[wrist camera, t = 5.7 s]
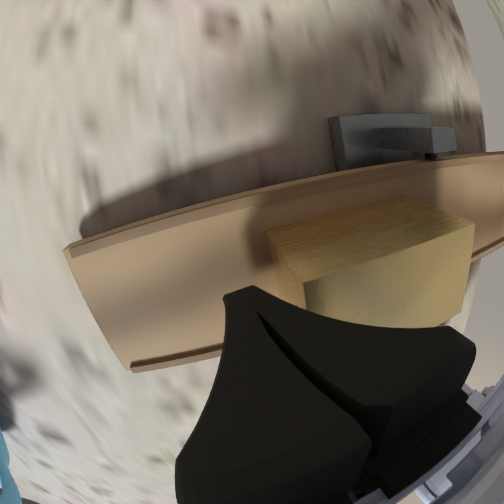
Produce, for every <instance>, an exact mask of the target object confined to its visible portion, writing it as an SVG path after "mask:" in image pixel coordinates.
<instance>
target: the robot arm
mask: <svg viewBox="0 0 504 504" xmlns="http://www.w3.org/2000/svg"><path fill="white" fill-rule="evenodd" d="M222 299H223V302H224V305H225V333H224V341H223V348H222V354H221V359H220V363H219V367H218V371H217V374H216V377H215V380H214V384H213V387H212V390H211V392H210V395H209V398H208V400H207V402H206V405H205V407H204V409H203V411H202V413H201V416H200V418H199V420H198V422H197V424H196V426H195V428H194V430H193V432H192V433H191V435H190V437H189V439H188V440H187V442H186V444H185V445H184V447H183V449H182V450H181V452H180V454H179V455H178V457H177V458H176V463H175V491H176V499H177V503H178V504H396V503H398V502H399V501H401V500H402V499H403V498H405V497H406V496H408V495H409V494H411V493H412V492H413V491H415V493H416V494H417V495H418V497H419V498H420V499H421V500H422V501H423V502H424V503H425V504H504V375H503V376H502V378H501V379H500V380H499V381H498V383H497V384H496V385H495V386H491V387H485V388H484V389H483V390H482V392H481V393H482V394H483V395H482V394H481V393H479V392H478V391H477V390H476V389H475V390H472V389H471V388H470V387H469V386H468V385H466V384H465V380H466V379H467V376H468V374H469V372H470V370H471V368H472V365H473V363H474V360H475V356H476V346H475V344H474V343H473V342H472V341H470V340H469V339H468V338H466V337H465V336H463V335H462V334H461V333H459V332H458V331H456V330H455V329H453V328H452V327H450V326H441V327H426V328H391V327H379V326H371V325H364V324H357V323H352V322H346V321H342V320H338V319H334V318H330V317H326V316H323V315H320V314H317V313H314V312H311V311H308V310H305V309H303V308H300V307H298V306H295V305H293V304H290V303H288V302H286V301H284V300H282V299H280V298H278V297H276V296H274V295H272V294H270V293H268V292H266V291H264V290H262V289H260V288H258V287H256V286H254V285H251V286H248V287H245V288H242V289H239V290H236V291H233V292H231V293H228V294H225V295H224V296H223V298H222Z"/></svg>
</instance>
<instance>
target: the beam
mask: <svg viewBox="0 0 504 504" xmlns="http://www.w3.org/2000/svg"><path fill="white" fill-rule="evenodd" d="M424 155H425V158H424V159H416V160H409V161H401V162H394V163H388V164H381V165H375V166H368V167H362V168H357V169H351V170H345V171H340V172H334V173H329V174H324V175H318V176H313V177H308V178H303V179H299V180H294V181H289V182H285V183H280V184H275V185H271V186H267V187H262V188H258V189H254V190H249V191H245V192H241V193H237V194H233V195H229V196H225V197H221V198H217V199H213V200H210V201H206V202H202V203H198V204H195V205H191V206H187V207H184V208H180V209H177V210H173V211H170V212H166V213H163V214H159V215H156V216H153V217H149V218H146V219H143V220H140V221H136V222H133V223H130V224H127V225H124V226H121V227H118V228H114V229H111V230H108V231H105V232H102V233H99V234H97V235H94V236H91V237H88V238H85V239H82V240H79V241H76V242H74V243H71V244H69V245H68V246H67V247H66V248H65V249H63V253H64V255H65V258H66V260H67V262H68V265H69V267H70V269H71V272H72V274H73V276H74V278H75V281H76V283H77V285H78V287H79V289H80V291H81V293H82V295H83V297H84V299H85V301H86V303H87V305H88V307H89V309H90V311H91V313H92V315H93V317H94V318H95V320H96V322H97V324H98V326H99V328H100V329H101V331H102V333H103V335H104V336H105V338H106V340H107V341H108V343H109V345H110V346H111V348H112V350H113V351H114V353H115V354H116V356H117V358H118V359H119V361H120V362H121V364H122V365H123V367H124V368H125V370H126V371H127V370H131V371H132V372H133V373H139V372H145V371H151V370H156V369H162V368H167V367H173V366H178V365H183V364H188V363H192V362H197V361H202V360H206V359H210V358H215V357H219V356H221V354H222V348H223V341H224V333H225V305H224V302H223V299H222V298H223V296H224V295H225V294H228V293H231V292H233V291H236V290H239V289H242V288H245V287H248V286H251V285H254V286H256V287H258V288H260V289H262V290H264V291H266V292H268V293H270V294H272V295H274V296H276V297H278V293H277V288H276V283H275V278H274V273H273V268H272V263H271V258H270V253H269V248H268V243H267V239H266V234H265V230H267V229H271V228H275V227H279V226H283V225H287V224H291V223H295V222H298V221H302V220H306V219H310V218H314V217H318V216H322V215H326V214H330V213H334V212H339V211H343V210H347V209H351V208H355V207H359V206H363V205H367V204H372V203H376V202H380V201H384V200H388V199H393V198H397V197H401V196H407V197H410V198H412V199H415V200H418V201H421V202H424V203H426V204H429V205H432V206H434V207H437V208H439V209H442V210H445V211H447V212H450V213H452V214H455V215H457V216H459V217H462V218H464V219H466V220H469V221H471V222H473V223H475V230H474V240H473V248H472V256H471V263H473V262H475V261H477V260H479V259H481V258H482V257H484V256H486V255H488V254H490V253H491V252H493V251H495V250H496V249H498V248H500V247H502V246H503V245H504V151H501V152H485V153H472V154H461V155H450V156H441V157H437V154H436V153H424ZM471 263H470V264H471Z"/></svg>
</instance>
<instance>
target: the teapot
mask: <svg viewBox="0 0 504 504" xmlns="http://www.w3.org/2000/svg"><path fill="white" fill-rule="evenodd" d="M2 430H3V429H2V427H1V426H0V486H1V484H2V494H1V495H0V504H22V501H21V497H20V493H19V491H18V488H17V486H16V484H15V481H14V479H13V477H12V475H11V473H10V471H9V469H8V466H9V453H8V449H7V446H6V443H5V440H4V437H3V434H2V432H1V431H2Z"/></svg>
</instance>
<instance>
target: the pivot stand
mask: <svg viewBox="0 0 504 504" xmlns="http://www.w3.org/2000/svg"><path fill="white" fill-rule="evenodd" d="M328 119H329V125H330V130H331V136H332V142H333V148H334V154H335V160H336V167H337V172H340V171H345V170H351V169H357V168H362V167H368V166H375V165H381V164H388V163H394V162H401V161H409V160H416V159H424V158H425V155H424V153H441V152H448V151H456V150H457V142H456V132H455V128H449V127H432V121H431V114H424V113H389V114H364V115H349V116H337V117H330V118H328Z"/></svg>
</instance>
